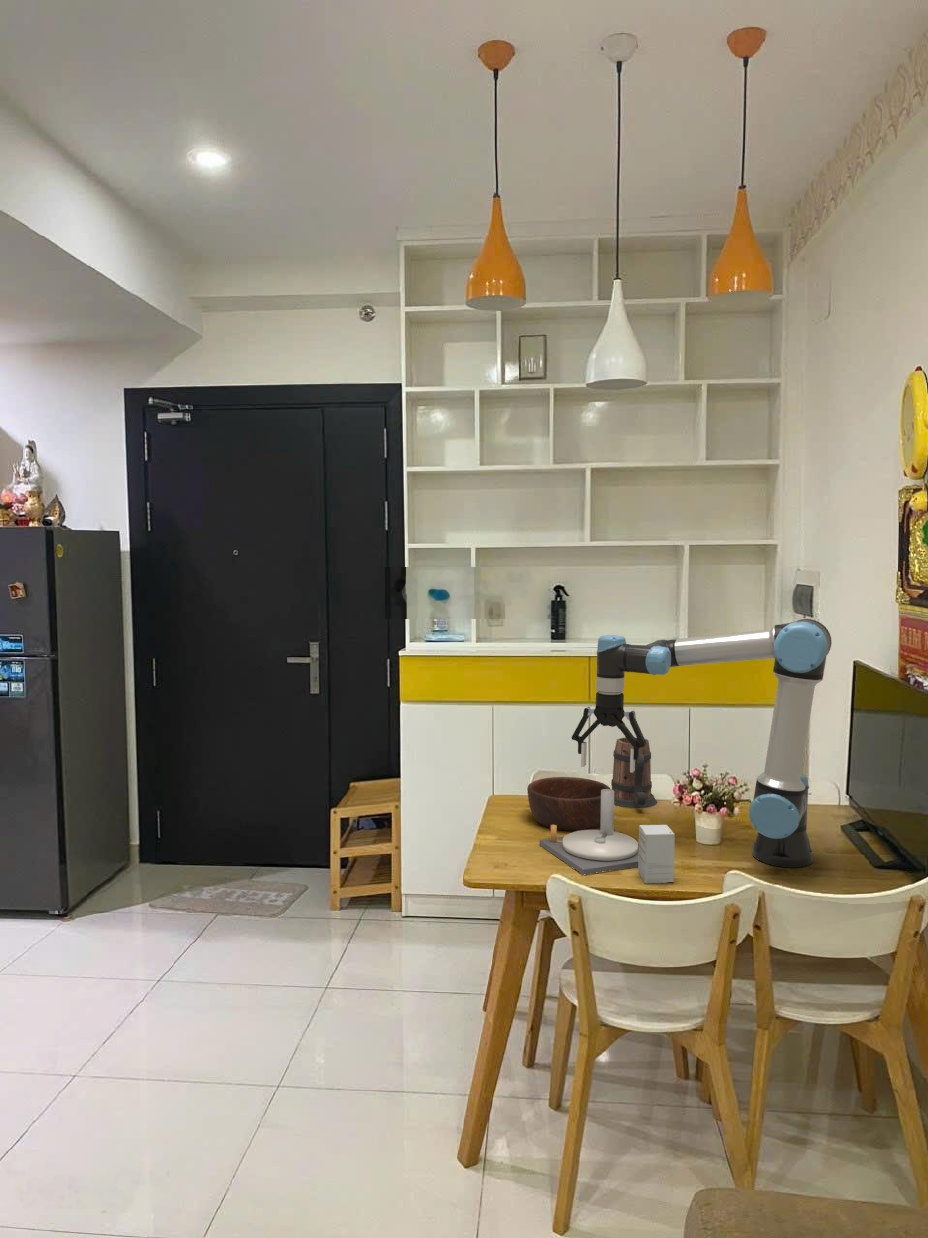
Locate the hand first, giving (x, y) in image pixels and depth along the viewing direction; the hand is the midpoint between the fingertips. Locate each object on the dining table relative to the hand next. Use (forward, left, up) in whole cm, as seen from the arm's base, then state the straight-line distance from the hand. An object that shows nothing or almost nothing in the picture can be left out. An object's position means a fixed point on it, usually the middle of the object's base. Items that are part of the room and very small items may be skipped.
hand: (607, 768), depth 243 cm
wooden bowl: (+23, -1, -22) cm, 31 cm away
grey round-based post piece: (-5, +5, -20) cm, 21 cm away
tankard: (+31, -29, -22) cm, 47 cm away
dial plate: (-5, +5, -22) cm, 23 cm away
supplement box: (-25, +1, -22) cm, 33 cm away
